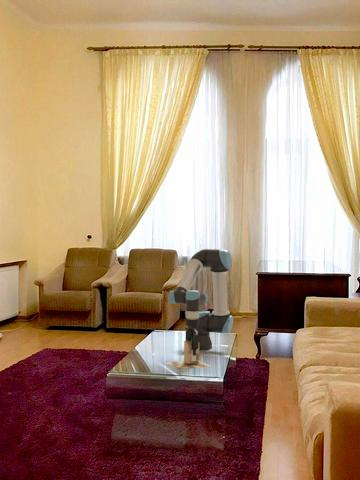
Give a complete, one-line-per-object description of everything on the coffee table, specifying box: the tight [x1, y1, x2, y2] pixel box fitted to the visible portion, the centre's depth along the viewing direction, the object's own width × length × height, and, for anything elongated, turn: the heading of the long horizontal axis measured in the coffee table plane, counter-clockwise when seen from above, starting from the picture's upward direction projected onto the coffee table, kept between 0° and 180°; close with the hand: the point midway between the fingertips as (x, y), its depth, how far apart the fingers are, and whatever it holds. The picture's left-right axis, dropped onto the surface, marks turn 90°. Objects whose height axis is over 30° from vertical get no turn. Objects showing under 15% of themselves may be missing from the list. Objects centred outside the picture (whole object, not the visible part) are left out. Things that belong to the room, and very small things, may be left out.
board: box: [166, 359, 211, 370], centre depth 303 cm, size 20×16×1 cm
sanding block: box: [183, 340, 200, 364], centre depth 304 cm, size 7×5×12 cm
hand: (191, 359), depth 304 cm, fingers closed on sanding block, 5 cm apart
